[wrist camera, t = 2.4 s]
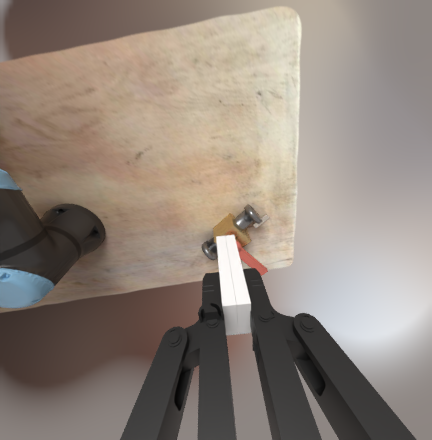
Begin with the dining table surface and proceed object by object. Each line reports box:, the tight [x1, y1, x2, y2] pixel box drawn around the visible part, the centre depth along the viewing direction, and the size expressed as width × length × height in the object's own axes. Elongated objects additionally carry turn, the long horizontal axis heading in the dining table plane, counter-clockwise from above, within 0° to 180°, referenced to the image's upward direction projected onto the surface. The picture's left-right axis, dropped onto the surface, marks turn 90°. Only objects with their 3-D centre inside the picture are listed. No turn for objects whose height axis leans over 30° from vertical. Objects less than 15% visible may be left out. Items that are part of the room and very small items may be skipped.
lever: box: [236, 241, 268, 275], centre depth 49 cm, size 14×4×1 cm, turn 45°
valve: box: [202, 205, 269, 260], centre depth 52 cm, size 20×9×9 cm, turn 135°
